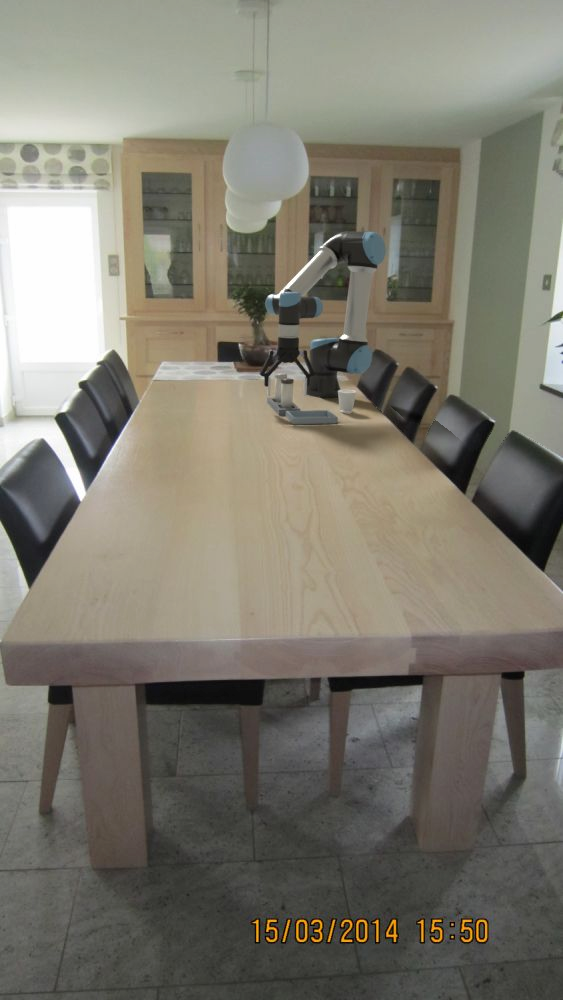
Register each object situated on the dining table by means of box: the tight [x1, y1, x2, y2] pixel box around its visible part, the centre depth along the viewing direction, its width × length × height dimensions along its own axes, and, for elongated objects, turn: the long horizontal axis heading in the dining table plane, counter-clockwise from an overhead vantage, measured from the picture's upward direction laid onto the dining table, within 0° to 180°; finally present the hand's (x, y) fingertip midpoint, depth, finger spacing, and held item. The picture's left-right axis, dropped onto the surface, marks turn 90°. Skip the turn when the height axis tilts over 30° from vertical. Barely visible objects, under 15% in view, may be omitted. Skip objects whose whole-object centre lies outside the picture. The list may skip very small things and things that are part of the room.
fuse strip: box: [266, 397, 302, 416], centre depth 282 cm, size 8×22×2 cm, turn 12°
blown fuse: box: [281, 377, 295, 408], centre depth 275 cm, size 5×5×12 cm
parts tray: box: [285, 409, 339, 426], centre depth 266 cm, size 16×12×2 cm
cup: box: [337, 389, 357, 415], centre depth 281 cm, size 7×10×8 cm
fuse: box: [274, 372, 288, 402], centre depth 285 cm, size 5×5×12 cm
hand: (286, 395), depth 275 cm, fingers open, 13 cm apart
